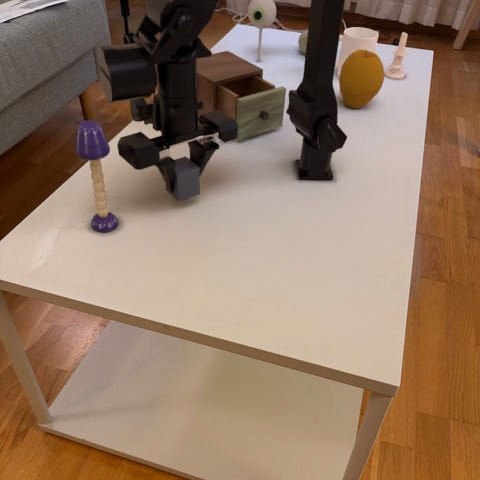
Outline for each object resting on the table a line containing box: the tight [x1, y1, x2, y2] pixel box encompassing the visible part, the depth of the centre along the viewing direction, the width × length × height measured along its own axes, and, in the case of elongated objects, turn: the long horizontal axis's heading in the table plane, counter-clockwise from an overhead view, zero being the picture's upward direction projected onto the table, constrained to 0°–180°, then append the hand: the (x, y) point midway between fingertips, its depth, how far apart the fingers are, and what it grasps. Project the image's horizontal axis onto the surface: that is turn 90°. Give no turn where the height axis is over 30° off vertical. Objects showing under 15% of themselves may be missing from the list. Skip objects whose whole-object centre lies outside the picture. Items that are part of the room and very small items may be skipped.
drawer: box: [216, 75, 287, 141], centre depth 101 cm, size 13×11×8 cm
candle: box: [384, 31, 409, 80], centre depth 124 cm, size 5×5×10 cm
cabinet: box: [197, 50, 264, 118], centre depth 106 cm, size 13×13×10 cm
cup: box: [335, 26, 379, 78], centre depth 123 cm, size 8×12×10 cm
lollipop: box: [247, 0, 277, 62], centre depth 125 cm, size 7×7×15 cm
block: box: [164, 156, 201, 203], centre depth 81 cm, size 4×4×5 cm
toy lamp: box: [75, 119, 120, 233], centre depth 73 cm, size 5×5×17 cm
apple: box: [338, 50, 385, 109], centre depth 110 cm, size 10×10×12 cm
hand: (182, 186), depth 82 cm, fingers closed on block, 4 cm apart
